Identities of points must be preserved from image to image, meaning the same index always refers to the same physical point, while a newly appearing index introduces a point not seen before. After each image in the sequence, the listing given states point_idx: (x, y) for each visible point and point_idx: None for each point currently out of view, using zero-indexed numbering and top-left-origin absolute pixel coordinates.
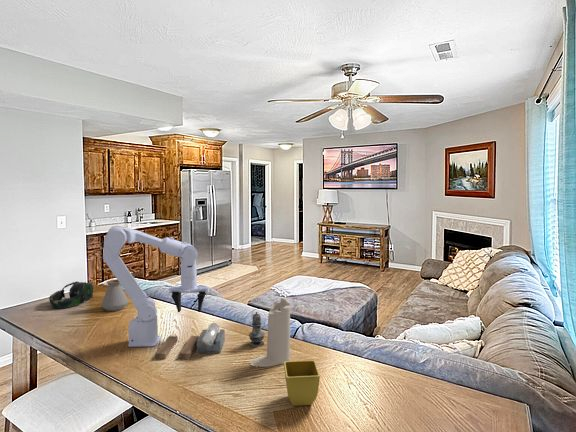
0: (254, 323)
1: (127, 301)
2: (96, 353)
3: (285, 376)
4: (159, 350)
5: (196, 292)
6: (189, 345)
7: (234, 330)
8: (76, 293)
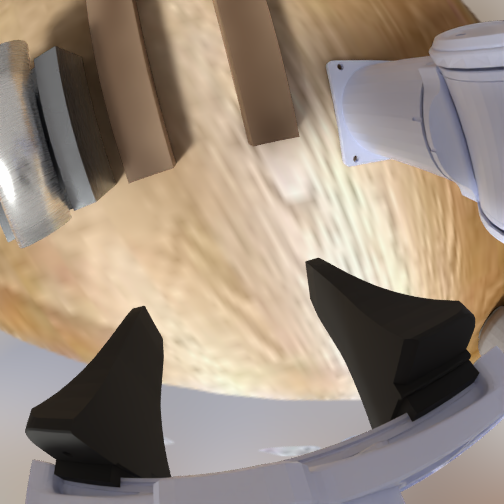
0: None
1: (483, 347)
2: None
3: None
4: None
5: (153, 480)
6: (118, 58)
7: (64, 317)
8: None
